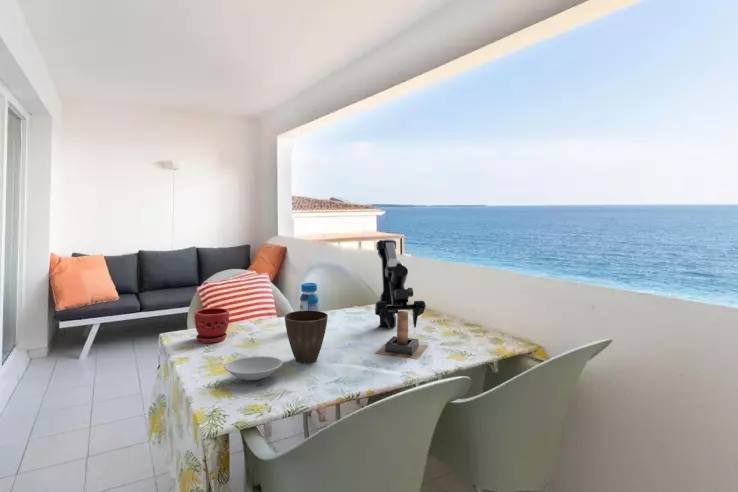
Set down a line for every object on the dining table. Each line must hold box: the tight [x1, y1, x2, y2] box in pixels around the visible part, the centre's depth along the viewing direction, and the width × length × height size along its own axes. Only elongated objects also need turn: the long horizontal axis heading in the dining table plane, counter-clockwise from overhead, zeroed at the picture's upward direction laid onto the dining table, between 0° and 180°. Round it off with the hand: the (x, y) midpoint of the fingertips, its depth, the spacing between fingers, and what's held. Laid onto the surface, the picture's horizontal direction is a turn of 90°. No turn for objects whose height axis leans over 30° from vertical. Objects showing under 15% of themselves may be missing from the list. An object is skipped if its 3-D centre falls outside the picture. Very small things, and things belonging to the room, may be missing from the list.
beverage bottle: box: [299, 282, 320, 311], centre depth 188 cm, size 8×8×20 cm
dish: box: [223, 355, 283, 381], centre depth 133 cm, size 18×14×5 cm
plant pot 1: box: [194, 307, 230, 344], centre depth 173 cm, size 13×13×12 cm
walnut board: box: [374, 343, 429, 360], centre depth 158 cm, size 16×16×1 cm
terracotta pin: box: [396, 310, 409, 345], centre depth 158 cm, size 4×4×14 cm
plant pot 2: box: [284, 310, 329, 364], centre depth 149 cm, size 15×15×16 cm
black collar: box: [384, 335, 420, 355], centre depth 158 cm, size 10×10×3 cm
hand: (402, 327), depth 157 cm, fingers open, 9 cm apart
